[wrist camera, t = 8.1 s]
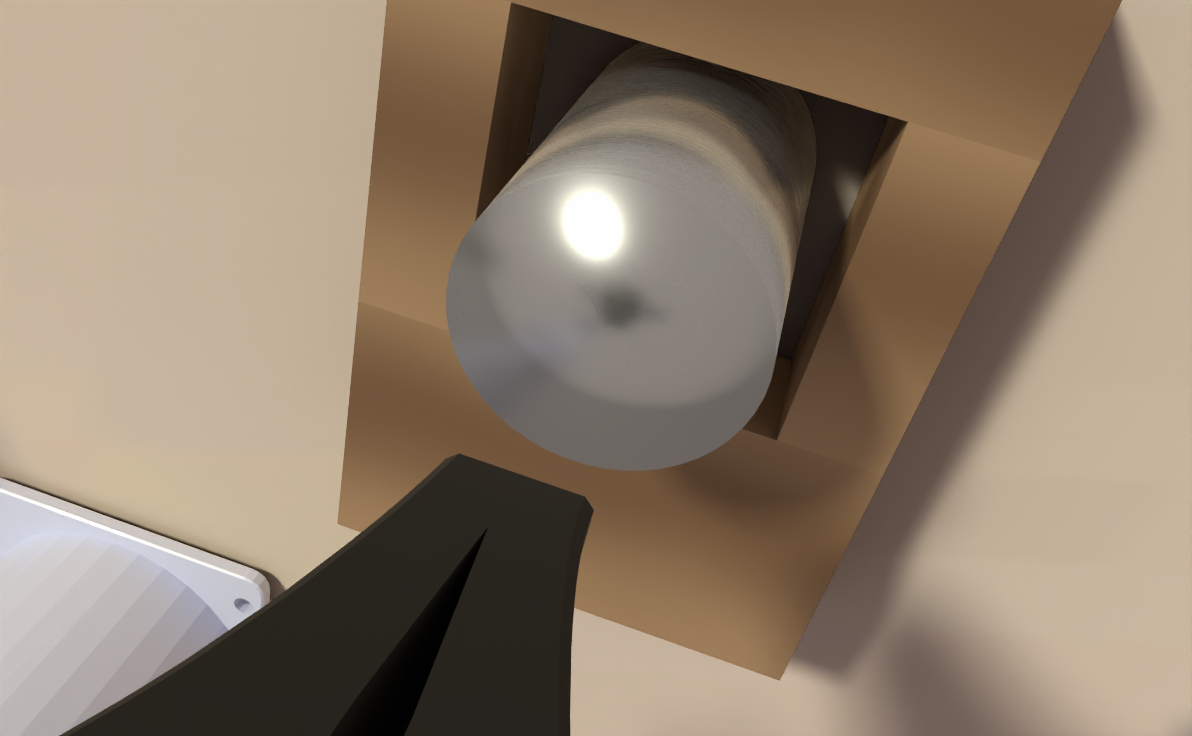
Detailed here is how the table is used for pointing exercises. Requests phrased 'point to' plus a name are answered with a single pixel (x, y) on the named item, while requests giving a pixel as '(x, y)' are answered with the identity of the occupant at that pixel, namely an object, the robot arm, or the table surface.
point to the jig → (799, 386)
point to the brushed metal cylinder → (639, 264)
